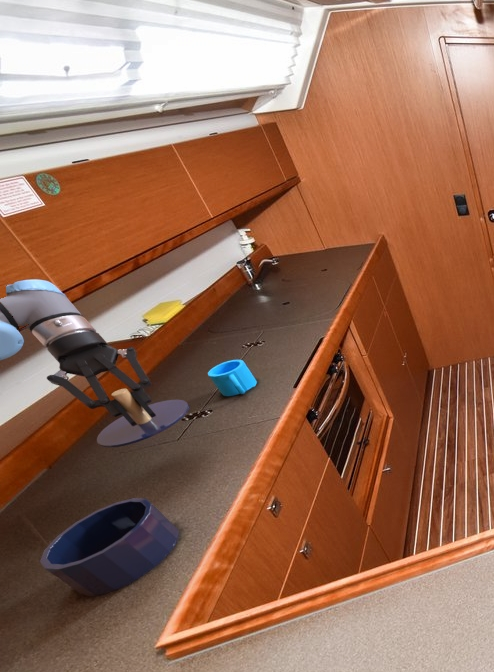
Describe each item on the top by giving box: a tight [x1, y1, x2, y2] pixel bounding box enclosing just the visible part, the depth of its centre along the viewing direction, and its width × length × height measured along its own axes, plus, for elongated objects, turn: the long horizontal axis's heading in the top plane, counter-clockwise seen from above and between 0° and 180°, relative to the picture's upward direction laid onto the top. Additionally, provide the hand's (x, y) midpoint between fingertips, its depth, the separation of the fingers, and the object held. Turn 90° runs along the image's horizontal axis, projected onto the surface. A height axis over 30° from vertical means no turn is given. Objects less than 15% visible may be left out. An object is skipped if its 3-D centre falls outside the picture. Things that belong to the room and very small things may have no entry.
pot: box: [39, 497, 180, 597], centre depth 78 cm, size 14×14×10 cm
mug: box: [207, 359, 258, 397], centre depth 122 cm, size 12×8×8 cm
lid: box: [96, 388, 190, 448], centre depth 93 cm, size 15×15×10 cm
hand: (143, 419), depth 92 cm, fingers closed on lid, 2 cm apart
